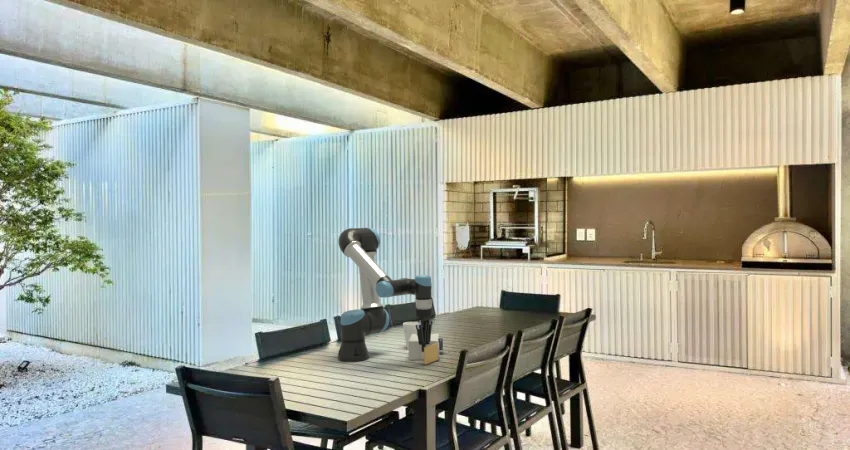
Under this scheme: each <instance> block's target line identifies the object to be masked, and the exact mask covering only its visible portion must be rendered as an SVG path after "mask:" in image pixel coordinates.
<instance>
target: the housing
mask: <svg viewBox="0 0 850 450" xmlns="http://www.w3.org/2000/svg"><path fill="white" fill-rule="evenodd" d="M429 343H430V344H428V346H430V345H432V344H435V343H439V351H443V350H444V338H443V337H440V333H431V339H430V342H429ZM408 359H409V361H424V359H422V350H421V345H419V342H418V335H417V334H412V335H411V337H410V340H409V349H408Z"/></svg>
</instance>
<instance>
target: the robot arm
mask: <svg viewBox="0 0 850 450" xmlns="http://www.w3.org/2000/svg"><path fill="white" fill-rule="evenodd" d="M337 242H338V247H339V249H340V251H341V252H342V253H343V255H344V256H345V257H347V258H350V260H351V261H352V262H353V263H354V264H356V266H357V267H358V271H359V280H360V289H361V296H362V298H361V299H362V306H361V307H360V309H350V310H346V311H344V312H342V314H341V315H340V322H339V323H340V337H341V339H340V342H341V343H340V347H339V350H338V354H337V359H338V361H340V362H350V363H352V362H362V361H365V360H368V359H369V358H370V356H369V355H370V353H369V349H368V348H367V345H366V336H368V335H372V334H379V333H381V332H385V330H386V329H387V328H388V327H389V325H390V315H389V312H388V311H387V310H386V309H385V308H384V305H383V304H382V303H381V302H380V298H391V297H397V296H405V295H407V296H408V295H413V296H415V308H416V309H415V317H417V318H418V320H417V322H418V325H416V329H417V335H418V342H419V345H421V350H422V359H424V347H427V346H428V344H430V343H429V342H430V339H431V334H432V326H433V321H432V320H431V317H432V316H433V309H432V307H433V306H432V305H433V301H432V295H433V294H432V293H433V292H432V290H433V289H432V286H433V285H432V277H431V276H430V275H429V274H418V275H415V278H407V277H404V278H403V277H401V278H399V279H392V278H391V277H390V276H389V275H388V274H387V272H386V271H384V270H383V269H382V268H381V266H379V264H378V263H377V262H376V259H375V255H377V253H378V252H377V250H378V249H379V247H380V246H381V236H380V235H379V233H378V231H376V230H375V228H372V227H371V228H370V227H357V228H356V227H355V228H354V227H351V228H346V229H345V230H343V231H342V232H341V233H340V235H339V237H338V241H337Z"/></svg>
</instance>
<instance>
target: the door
mask: <svg viewBox="0 0 850 450" xmlns="http://www.w3.org/2000/svg"><path fill="white" fill-rule="evenodd" d="M439 360H440V350H439V343H435V344H432V345H430V346H427V347H424V360H423V362H424V363H423V364H424V365H428V364H431V363H433V362H436V361H439Z"/></svg>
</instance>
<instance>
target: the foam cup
mask: <svg viewBox="0 0 850 450" xmlns="http://www.w3.org/2000/svg"><path fill="white" fill-rule="evenodd" d="M416 325H418V321H406V322H403V323H402V328H403V334H404V340H405V346H406V349H408V350H409V340H410V337H411V335H412V334H417V329H416Z"/></svg>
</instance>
